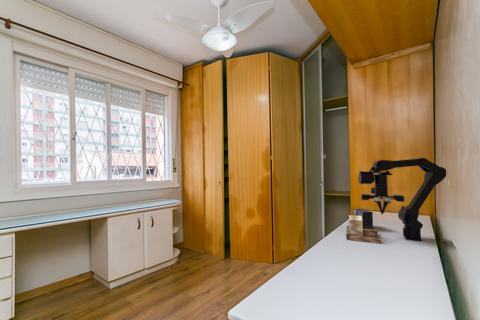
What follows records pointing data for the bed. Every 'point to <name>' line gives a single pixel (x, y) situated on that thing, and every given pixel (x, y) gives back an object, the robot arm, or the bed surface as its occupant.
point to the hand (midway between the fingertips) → (382, 214)
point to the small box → (365, 218)
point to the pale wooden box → (355, 225)
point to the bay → (365, 236)
